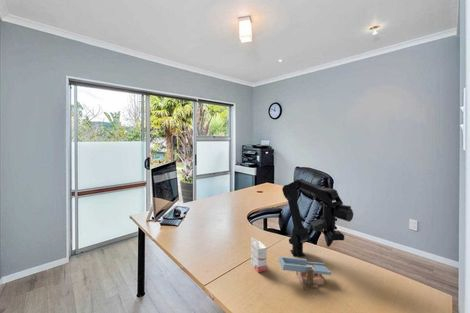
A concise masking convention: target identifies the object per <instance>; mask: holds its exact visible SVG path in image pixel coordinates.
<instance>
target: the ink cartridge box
mask: <svg viewBox="0 0 470 313" xmlns="http://www.w3.org/2000/svg"><path fill="white" fill-rule="evenodd" d="M267 251H268V250H267V247H266V245H265V244H263V243H262V242H261V241H260V240H257V239H255V238H253V236H251V240H250V265H251V266H252V267H253V268H254V269H255V270H256V272H257V273H262V272H267V258H268V257H267Z"/></svg>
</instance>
